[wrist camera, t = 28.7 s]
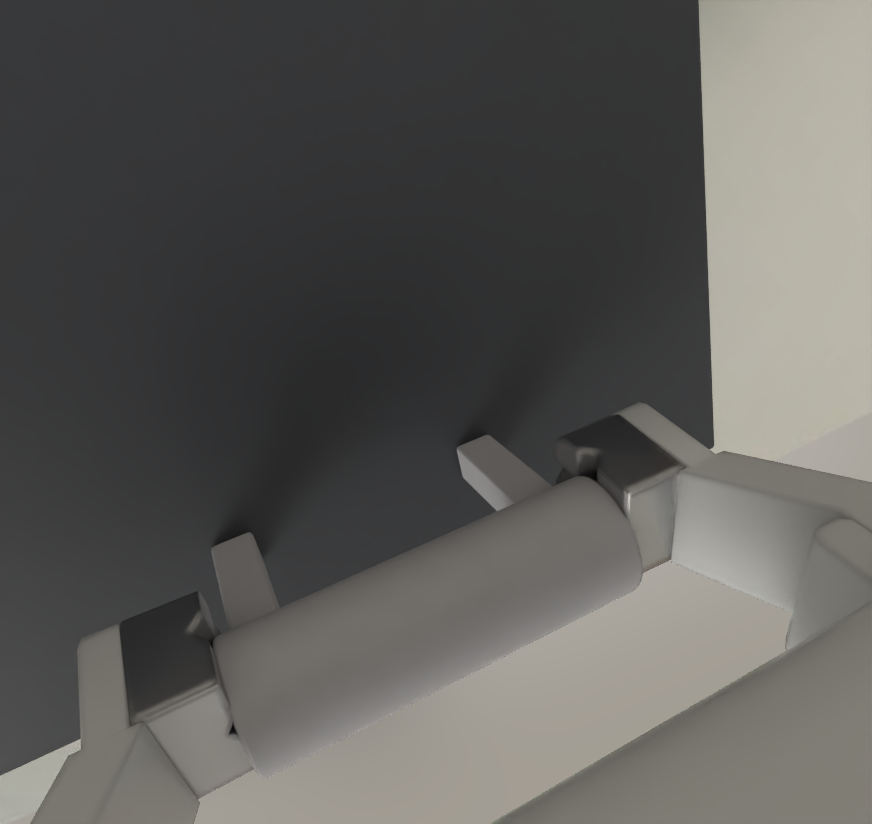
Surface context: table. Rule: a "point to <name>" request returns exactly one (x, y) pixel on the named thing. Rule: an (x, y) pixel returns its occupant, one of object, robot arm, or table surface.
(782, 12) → the table surface
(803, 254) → the table surface
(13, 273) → the lid
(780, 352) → the table surface
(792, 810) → the robot arm
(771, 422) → the table surface
